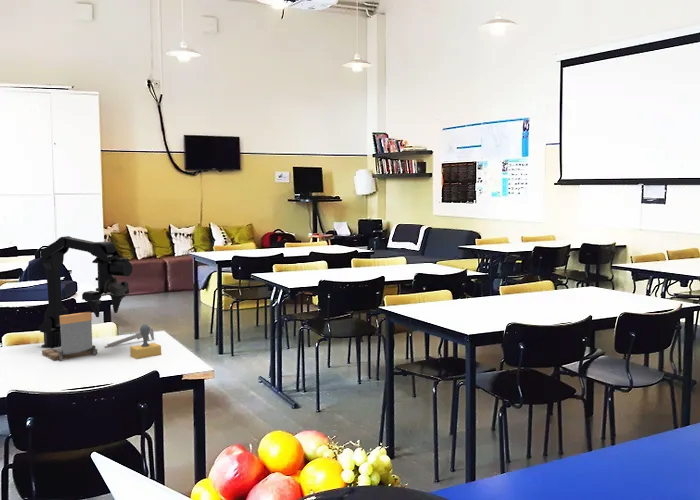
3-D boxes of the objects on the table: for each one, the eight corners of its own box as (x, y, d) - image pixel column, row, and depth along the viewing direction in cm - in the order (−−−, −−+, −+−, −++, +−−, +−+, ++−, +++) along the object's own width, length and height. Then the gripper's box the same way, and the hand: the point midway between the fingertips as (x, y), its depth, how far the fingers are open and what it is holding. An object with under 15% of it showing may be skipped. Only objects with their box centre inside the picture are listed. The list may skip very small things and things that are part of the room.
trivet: (42, 354, 261) (41, 345, 261) (84, 347, 272) (83, 338, 272) (56, 361, 250) (56, 352, 250) (99, 354, 261) (99, 345, 261)
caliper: (152, 340, 285) (152, 325, 284) (153, 340, 284) (153, 325, 283) (104, 348, 272) (103, 332, 271) (105, 348, 271) (104, 333, 270)
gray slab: (61, 355, 253) (59, 315, 251) (91, 349, 260) (89, 311, 259) (62, 355, 252) (61, 316, 250) (93, 350, 259) (91, 312, 258)
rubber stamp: (136, 359, 254) (135, 327, 253) (130, 356, 258) (128, 324, 257) (161, 354, 261) (160, 323, 259) (154, 351, 265) (153, 321, 264)
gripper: (102, 279, 251) (103, 321, 253) (139, 273, 268) (140, 312, 269) (80, 277, 256) (81, 318, 257) (117, 271, 272) (118, 310, 274)
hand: (106, 315), depth 264 cm, fingers open, 9 cm apart
